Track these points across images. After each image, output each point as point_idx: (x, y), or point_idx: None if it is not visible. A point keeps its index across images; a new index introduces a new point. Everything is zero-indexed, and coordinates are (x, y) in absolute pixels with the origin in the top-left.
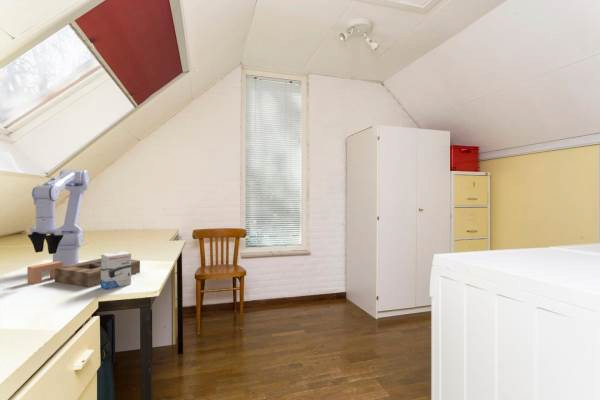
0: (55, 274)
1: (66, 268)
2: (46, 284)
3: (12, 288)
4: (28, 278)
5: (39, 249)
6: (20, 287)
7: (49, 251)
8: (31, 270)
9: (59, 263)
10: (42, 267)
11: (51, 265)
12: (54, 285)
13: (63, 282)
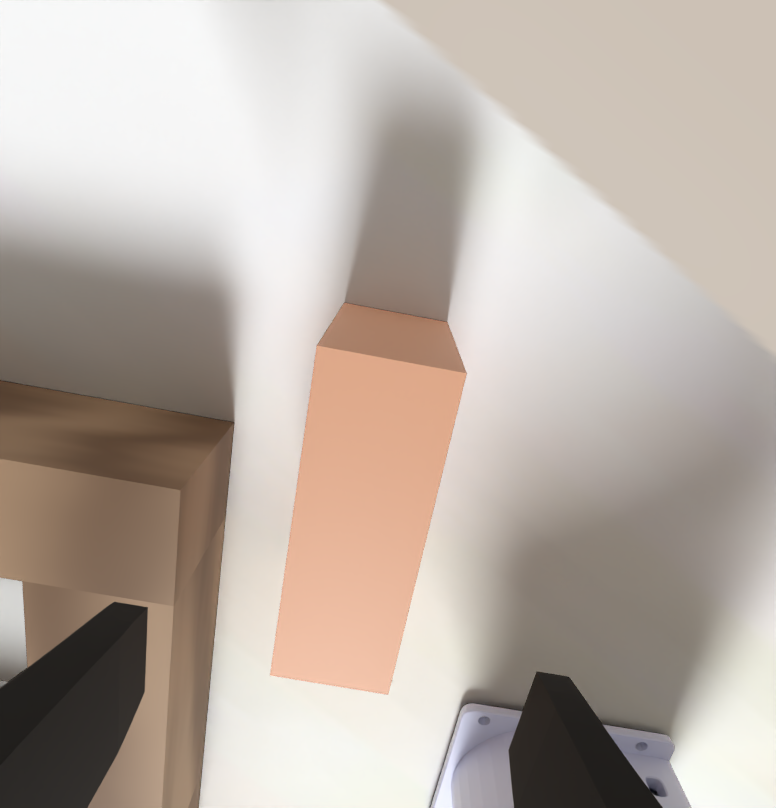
0: (195, 451)
1: (26, 507)
2: (211, 323)
3: (414, 119)
4: (434, 330)
5: (536, 762)
6: (365, 172)
7: (76, 633)
8: (371, 343)
9: (277, 634)
10: (304, 447)
11: (290, 549)
12: (99, 311)
13: (101, 401)
